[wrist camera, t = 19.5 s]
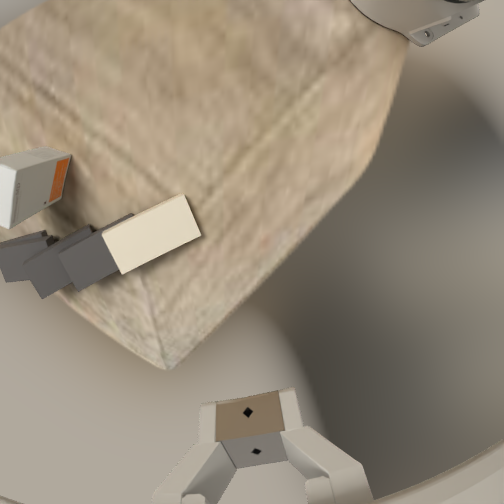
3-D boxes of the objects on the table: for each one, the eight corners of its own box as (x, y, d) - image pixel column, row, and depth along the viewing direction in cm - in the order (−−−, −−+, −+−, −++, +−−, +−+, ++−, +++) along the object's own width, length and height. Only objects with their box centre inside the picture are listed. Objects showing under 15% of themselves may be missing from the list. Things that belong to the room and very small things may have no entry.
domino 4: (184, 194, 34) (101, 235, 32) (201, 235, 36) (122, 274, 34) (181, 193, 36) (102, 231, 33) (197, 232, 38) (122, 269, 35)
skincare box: (62, 199, 35) (9, 232, 24) (37, 189, 34) (-20, 218, 23) (73, 152, 33) (17, 170, 22) (46, 144, 32) (-14, 159, 21)
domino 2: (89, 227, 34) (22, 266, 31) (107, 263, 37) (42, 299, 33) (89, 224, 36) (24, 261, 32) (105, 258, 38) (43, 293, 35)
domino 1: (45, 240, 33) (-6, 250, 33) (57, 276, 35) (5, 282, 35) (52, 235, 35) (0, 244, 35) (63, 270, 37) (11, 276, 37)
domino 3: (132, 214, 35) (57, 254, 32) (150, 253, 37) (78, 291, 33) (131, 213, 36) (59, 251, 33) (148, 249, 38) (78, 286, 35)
